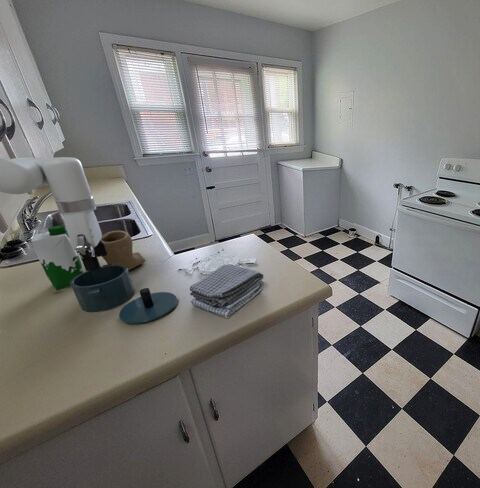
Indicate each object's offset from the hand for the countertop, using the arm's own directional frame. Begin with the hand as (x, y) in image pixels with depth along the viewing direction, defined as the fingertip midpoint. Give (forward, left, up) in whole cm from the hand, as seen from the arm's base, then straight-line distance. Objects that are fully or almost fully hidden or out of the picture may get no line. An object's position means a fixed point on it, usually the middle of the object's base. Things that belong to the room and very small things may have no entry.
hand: (97, 262), depth 79 cm
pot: (-1, +1, -13) cm, 13 cm away
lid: (+11, -11, -13) cm, 20 cm away
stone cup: (+1, +22, -13) cm, 26 cm away
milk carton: (-15, +19, -13) cm, 28 cm away
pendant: (+33, +9, -13) cm, 37 cm away
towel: (+33, -15, -13) cm, 39 cm away
